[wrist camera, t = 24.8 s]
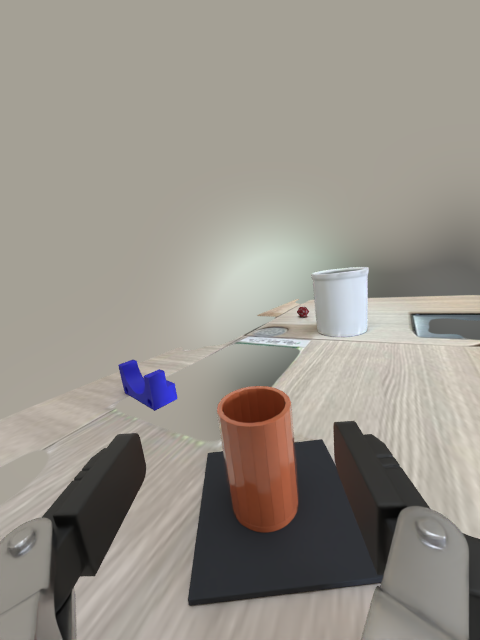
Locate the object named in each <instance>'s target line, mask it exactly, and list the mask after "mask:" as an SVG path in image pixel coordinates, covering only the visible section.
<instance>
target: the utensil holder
mask: <svg viewBox="0 0 480 640" xmlns="http://www.w3.org/2000/svg"><path fill="white" fill-rule="evenodd" d="M368 272H369V268H368V267H354V268H341V269H332V270H325V271H319V272H314V273H312V275H311V276H312V279H313V288H314V300H315V312H316V321H317V329H318V332H319V333H320V334H323V335H326V336H333V337H349V336H356V335H359V334H362V333H364V332H366V331H367V322H368V289H367V288H368V287H367V275H368Z"/></svg>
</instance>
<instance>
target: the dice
mask: <svg viewBox="0 0 480 640" xmlns="http://www.w3.org/2000/svg"><path fill="white" fill-rule="evenodd" d="M308 312H309V311H308V310H307V308H306V307H300V308H299V310H298V311H297V313H298V314H299V315H300V317H306V316H307V314H308Z"/></svg>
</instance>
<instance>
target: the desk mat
mask: <svg viewBox="0 0 480 640" xmlns="http://www.w3.org/2000/svg"><path fill="white" fill-rule="evenodd" d="M294 445H295V457H296V469H297V481H298V493H299V495H298V498H299V505H298V510H297V512H296V515H295V516H294V518H293V519H292V521H291V522H290V523H289V524H288V525H286V526H285V527H283V528H282V529H279V530H277V531H274V532H267V533H263V532H256V531H253V530H250V529H248V528H246V527H245V526H243V525H242V524H241V523H240V522H239V521H238V519H237V518H236V517H235V515H234V512H233V510H232V504H231V500H230V493H229V487H228V480H227V474H226V467H225V460H224V454H223V451H221V452H213V453H208V457H207V464H206V471H205V479H204V486H203V493H202V501H201V508H200V516H199V523H198V530H197V538H196V545H195V552H194V560H193V567H192V575H191V582H190V589H189V597H188V602H189V605H198V604H206V603H214V602H223V601H231V600H239V599H247V598H256V597H264V596H272V595H281V594H289V593H297V592H306V591H314V590H322V589H330V588H339V587H347V586H355V585H364V584H372V583H380V582H382V580H383V576H384V575H377V573H376V570H375V568H374V565H373V562H372V560H371V557H370V555H369V552H368V550H367V547H366V544H365V542H364V539H363V537H362V534H361V531H360V529H359V526H358V524H357V521H356V519H355V516H354V513H353V511H352V508H351V506H350V503H349V500H348V498H347V495H346V493H345V490H344V488H343V485H342V482H341V480H340V477H339V475H338V471H337V468H336V466H335V464H334V462H333V460H332V458H331V456H330V454H329V452H328V450H327V448H326V446H325V444H324V442H323V440H322V439H321V440H313V441H304V442H296V443H294Z"/></svg>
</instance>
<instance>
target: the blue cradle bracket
mask: <svg viewBox="0 0 480 640" xmlns="http://www.w3.org/2000/svg"><path fill="white" fill-rule="evenodd" d="M119 370H120V374H121V378H122V383H123V387H124V391H125V393H126V394H128V395H129V396H131V397H133V398H135V399H136V400H138V401H140V402H141V403H143V404H145V405H146V406H148V407H150V408H151V409H153V410H154V411H155V410H157V409H159V408H161V407H163V406H165V405H167V404H168V403H170V402H172V401H174V400H176V399H177V394H176V389H175V384H174V383H172V382H169V381H167V380H166V378H165V373H164V371H163V370H160V369H159V370H157V371H155V372H152V373H150V374H147V375H145V376H144V378H143V377H142V375H141V373H140V370H139V368H138V365H137V361H135V360H131V361H128V362H125V363H122V364H120V365H119Z"/></svg>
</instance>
